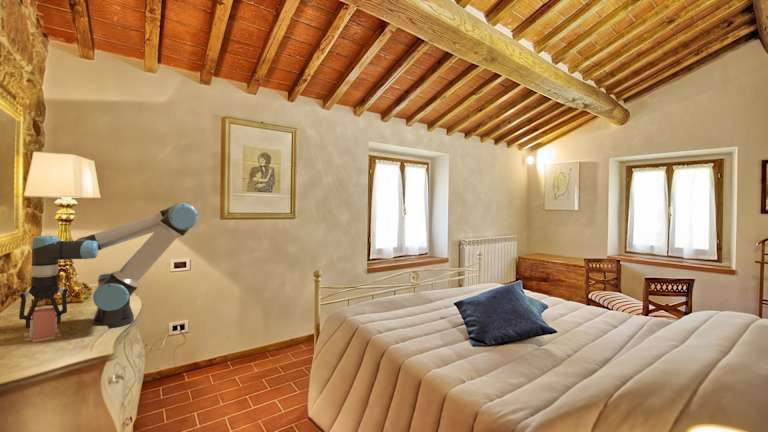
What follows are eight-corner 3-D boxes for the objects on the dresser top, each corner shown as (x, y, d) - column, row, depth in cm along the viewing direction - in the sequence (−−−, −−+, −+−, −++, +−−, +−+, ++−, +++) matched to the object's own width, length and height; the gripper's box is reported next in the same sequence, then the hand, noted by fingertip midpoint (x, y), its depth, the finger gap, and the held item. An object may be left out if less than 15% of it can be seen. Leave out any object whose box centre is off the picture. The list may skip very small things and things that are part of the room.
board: (61, 340, 136) (61, 337, 136) (25, 347, 129) (25, 344, 129) (57, 330, 147) (57, 327, 147) (23, 335, 139) (23, 332, 139)
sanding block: (54, 338, 135) (55, 311, 135) (32, 342, 131) (33, 314, 130) (52, 332, 140) (53, 307, 140) (31, 336, 136) (32, 309, 136)
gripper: (75, 271, 145) (74, 326, 145) (9, 276, 131) (7, 336, 131) (78, 274, 140) (76, 330, 140) (9, 279, 126) (7, 342, 126)
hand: (43, 333), depth 136 cm, fingers closed on sanding block, 6 cm apart
